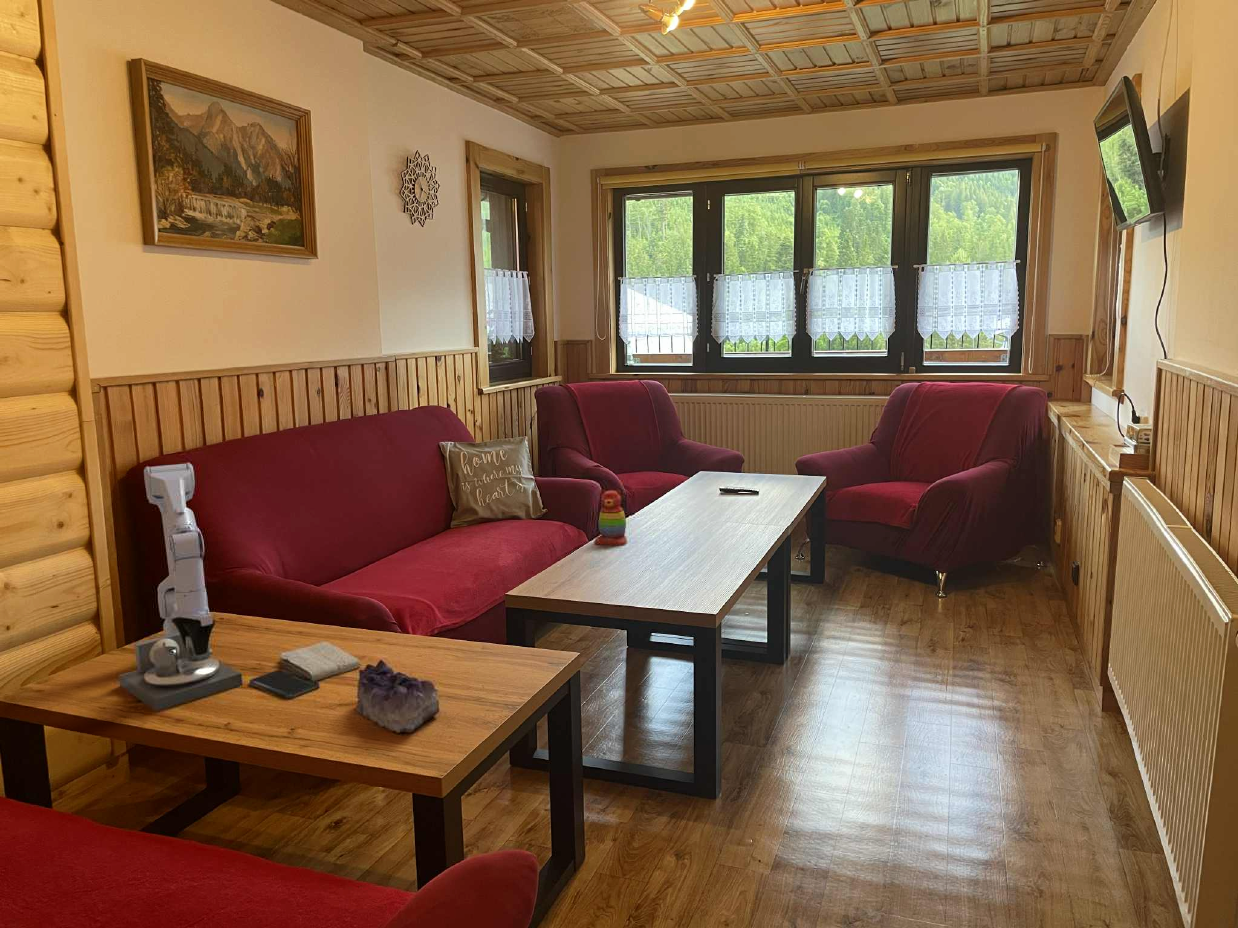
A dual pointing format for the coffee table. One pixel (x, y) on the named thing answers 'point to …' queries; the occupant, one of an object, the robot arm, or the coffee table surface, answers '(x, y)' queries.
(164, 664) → the cylinder
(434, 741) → the coffee table surface
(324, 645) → the washcloth
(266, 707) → the coffee table surface
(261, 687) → the phone
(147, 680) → the pan
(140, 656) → the scale
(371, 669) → the geode
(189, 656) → the cylinder
